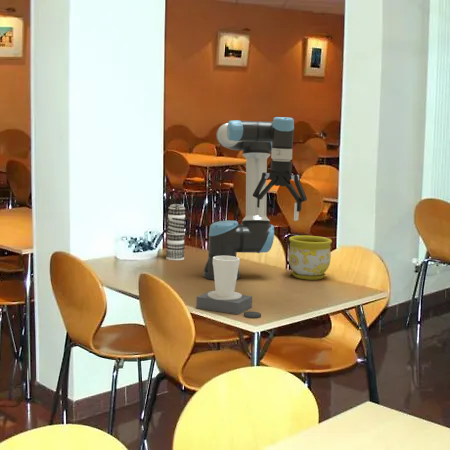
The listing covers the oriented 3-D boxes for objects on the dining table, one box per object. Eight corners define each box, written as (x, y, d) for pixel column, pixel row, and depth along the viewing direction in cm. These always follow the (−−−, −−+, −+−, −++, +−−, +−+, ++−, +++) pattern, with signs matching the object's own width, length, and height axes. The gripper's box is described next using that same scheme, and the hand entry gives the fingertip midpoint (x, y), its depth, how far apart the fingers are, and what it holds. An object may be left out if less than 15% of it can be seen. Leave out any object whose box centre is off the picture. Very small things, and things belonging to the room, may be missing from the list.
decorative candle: (189, 258, 380) (191, 204, 376) (177, 261, 372) (179, 206, 368) (172, 255, 384) (174, 202, 380) (161, 258, 376) (162, 204, 373)
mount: (196, 307, 289) (196, 294, 288) (211, 301, 300) (211, 288, 299) (237, 314, 282) (238, 300, 282) (251, 307, 293) (252, 294, 292)
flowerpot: (278, 275, 349) (280, 237, 347) (303, 270, 362) (305, 234, 360) (313, 283, 337) (315, 243, 335) (337, 277, 351) (340, 239, 348)
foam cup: (235, 298, 285) (236, 261, 283) (209, 296, 287) (210, 259, 285) (240, 292, 294) (241, 256, 292) (214, 290, 296) (216, 254, 294)
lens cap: (240, 317, 280) (240, 314, 280) (248, 313, 285) (248, 310, 285) (256, 320, 277) (256, 316, 277) (263, 316, 282) (264, 313, 282)
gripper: (245, 158, 299) (243, 216, 302) (310, 163, 288) (307, 223, 291) (253, 157, 305) (251, 214, 308) (317, 162, 295) (314, 220, 298)
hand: (278, 218), depth 300 cm, fingers open, 13 cm apart
